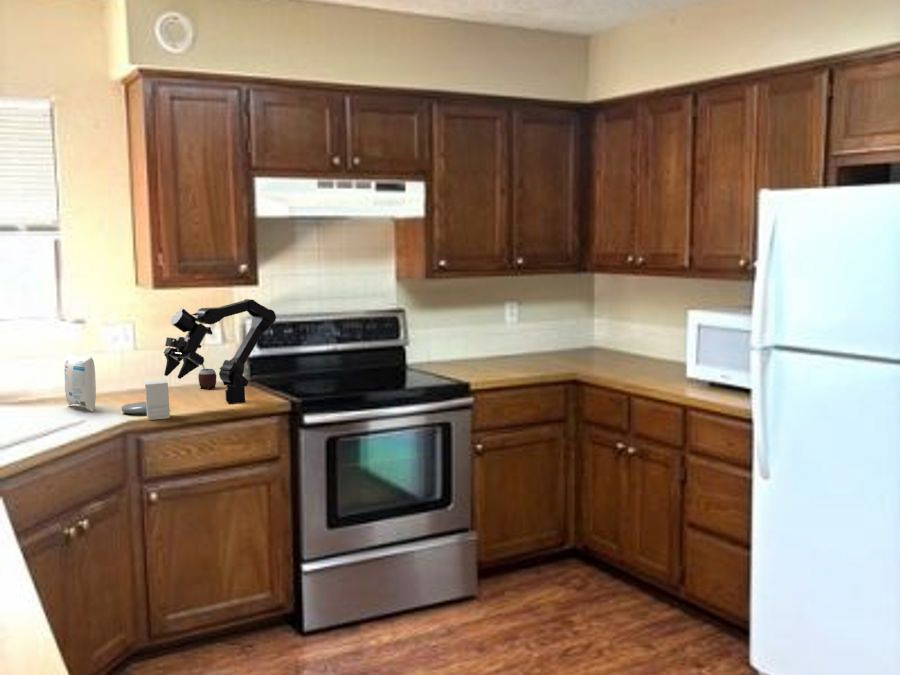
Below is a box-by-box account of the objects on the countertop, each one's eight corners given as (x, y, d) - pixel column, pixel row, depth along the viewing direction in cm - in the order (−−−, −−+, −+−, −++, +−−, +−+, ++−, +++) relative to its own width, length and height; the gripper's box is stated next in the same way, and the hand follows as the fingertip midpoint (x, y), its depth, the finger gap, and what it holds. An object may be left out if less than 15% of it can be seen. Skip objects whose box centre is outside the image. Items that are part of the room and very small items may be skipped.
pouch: (81, 413, 318) (77, 358, 315) (60, 406, 331) (57, 353, 329) (103, 410, 323) (99, 355, 321) (82, 403, 337) (79, 351, 334)
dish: (164, 406, 330) (164, 400, 329) (167, 413, 316) (167, 407, 315) (121, 409, 324) (121, 403, 324) (122, 417, 310) (122, 411, 310)
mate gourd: (217, 389, 363) (216, 353, 361) (198, 391, 360) (196, 354, 358) (215, 386, 370) (213, 350, 368) (195, 388, 367) (194, 352, 365)
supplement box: (168, 414, 314) (166, 379, 313) (170, 418, 307) (168, 382, 306) (146, 416, 312) (144, 380, 310) (147, 420, 305) (145, 384, 303)
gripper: (163, 325, 322) (141, 363, 317) (190, 329, 309) (167, 368, 304) (186, 341, 329) (165, 378, 324) (214, 345, 316) (192, 383, 311)
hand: (172, 376), depth 316 cm, fingers open, 9 cm apart
